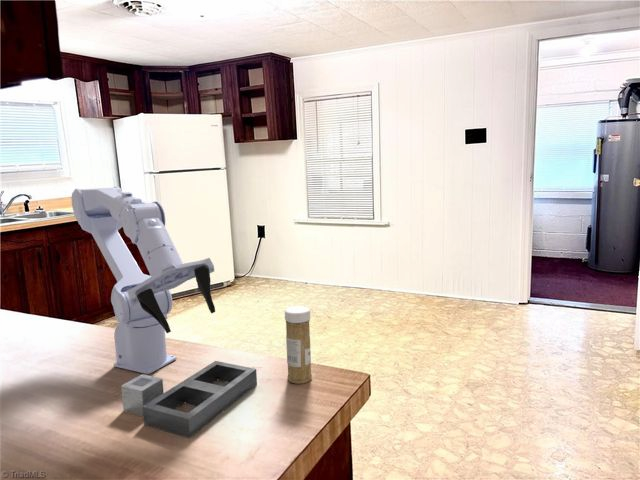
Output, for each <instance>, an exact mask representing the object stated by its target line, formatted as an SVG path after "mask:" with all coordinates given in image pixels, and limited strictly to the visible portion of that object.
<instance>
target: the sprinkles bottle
mask: <svg viewBox="0 0 640 480" xmlns="http://www.w3.org/2000/svg"><path fill="white" fill-rule="evenodd" d="M284 320H285V329H286V332H285V333H286V335H285V339H286V340H285V341H286V342H285V343H286V345H285V346H286V363H287V381H288V382H290V383H293V384H298V385H300V384H306V383H307V382H310V381H311V380H312V377H313V376H312V367H311V362H312V360H311V359H312V354H311V336H310V335H311V333H310V321H311V309H310V308H309V307H307V306H303V305H294V306H289V307H286V309H284Z"/></svg>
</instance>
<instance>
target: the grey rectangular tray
mask: <svg viewBox="0 0 640 480" xmlns="http://www.w3.org/2000/svg"><path fill="white" fill-rule="evenodd" d="M257 377H258V376H257V369H256V368H253V367H248V366H243V365H237V364H233V363H228V362H223V361H219V360H214V361H213V362H211V363H209V364H208V365H206V366H205V367H204V368H202V369H200V370H198V371H197V372H195V373H194V374H192V375H190V376H189V377H187V378H185V379H184V380H183V381H181V382H179V383H177V384H176V385H174V386H173V387H171V388H170V389H168V390H167V391H165V392H164V393H163V394H162V395H160V396H159V397H157V398H155V399H154V400H152V401H151V402H149V403H147V404H146V405H144V406H143V416H142V417H143V425H144V426H148V427H152V428H155V429H158V430H161V431H165V432H169V433H173V434H175V435H178V436H182V437H186V438H189V439H191V438H192V437H194V436H195V435H196V434H197V433H198V432H199V431H201V430H202V429H203V428H204V427H206V426H207V425H209V423H211V422H212V421H213V420H215V419H216V418H217V417H218V416H220V415H221V414H222V413H223V412H225V411H226V410H227V409H228V408H231V406H232V405H233V404H235V403H236V402H238V400H240V399H241V398H242V397H243V396H245V395H247V393H249V392H250V391H251V390H252V389H254V388H255V387H256V386H257V385H258V378H257ZM217 381H222V382H226V383H228V384H226V385H225V386H222V385H217V384H214V383H215V382H217ZM183 404H188V405H191V406H195V407H194V408H193V409H191V410H190V411H189V412H184V411H180V410H178V409H177V408H179V407H180V406H182V405H183ZM176 409H177V410H176Z"/></svg>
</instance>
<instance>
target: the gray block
mask: <svg viewBox="0 0 640 480" xmlns="http://www.w3.org/2000/svg"><path fill="white" fill-rule="evenodd" d="M120 387H121V396H122V398H121V399H122V407H123V410H122V411H123V412H127V413H129V414H134V415H137V416H140V417H143V406H144V405H146V404H147V403H149V402H151V401H152V400H154V399H155V398H157V397H159V396H160V395H162V394H163V393H165V392H164V381H163V378H160V377H157V376H156V377H155V376H152V375H149V374H145V373H141V374H140V375H138V376H136V377H134V378H133V379H131V380H129V381H128V382H125V383H123V384H121V385H120Z"/></svg>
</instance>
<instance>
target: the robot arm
mask: <svg viewBox="0 0 640 480" xmlns="http://www.w3.org/2000/svg"><path fill="white" fill-rule="evenodd" d="M71 206H72V211H73V215H74V217H75V219H76V221H77V222H78V225H80V227H81V230H83V231H85V232H87V233H89V234H91V235H92V237H93V239H94V241H95V243H96V244H97V247H98V248H99V250H100V252H101V254H102V255H103V257H104V259H105V262H106V263H107V265H108V267H109V269H110V270H111V272H112V275H113V276H114V278H115V280H116V283H115V284H114V286H113V288H112V290H111V294H110V295H111V296H110V302H111V305H112V307H113V308H112V309H113V312H114V315H115V318H116V320H117V321H118V323H117V325H116V327H115V328H114V346H115V358H116V362H114V363H113V367H117V368H120V369H124V370H129V371H132V372H137V373H141V374H144V375H150V374H151V373H153V372H155V371H157V370H159V369H161V368H162V367H164V366H166V365H169V364H170V363H172V362H173V361H175V360H177V356H175V355H172V354H168V353H167V340H166V334H169V333H171V332H172V330H171V327H170V325H169V322H168V315H169V314H170V313H171V311H172V309H173V305H174V304H173V297H172V293H171V290H172V289H176V288H177V287H179V286H181V285H183V284H184V283H186V282H187V281H190V280H192V279H195V281H196V283H197V284H196V285H197V288H198V289H199V291H200V293H201V295H202V296H203V298H204V301H205V302H206V305H207V308H208V310H209V313H210V314H214V313H216V307H215V304H214V302H213V297H212V293H211V291H212V290H211V274H212V273H214V272H215V266H214V264H213V262H212V260H211V258H210V257H207V258H205V259H204V258H203V259H201V260H196V261H191V262H187V263H183V261H182V258H181V257H180V254H179V253H178V251H177V247H176V246H175V245H174V242H173V240H172V239H171V236H170V234H169V232H168V230H167V229H166V216H165V211H164V208H163V206H162V204H161V203H159V201H157V200H156V201H152V202H145V201H143V200H142V198H140V197H136V196H134V195H133V193H132V192H130V191H127V192H124V191H123V190H122V188H121V187H119V186H113V187H102V188H101V187H100V188H83V189H80V188H75V189H74V190H73V191H72V193H71ZM122 228H123V232H124V234H125V236H126V237H128V238H129V239H130V240H131V243H132V244H133V245H134V244H135V245H136V246H137V248H138V251H139V253H140V255H141V257H142V259H143V262H144V264H145V266H146V269H147V271H148V273H149V275H148V274H145V273H143V272H142V270H141V268H140V266H139V265H138V263H137V261H136V260H135V258H134V256H133V255H132V252H131V251H130V250H129V248H128V246H127V244H126V243H125V241H124V240H123V238H122V236H121V234H120V233H119V230H120V229H122Z"/></svg>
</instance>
